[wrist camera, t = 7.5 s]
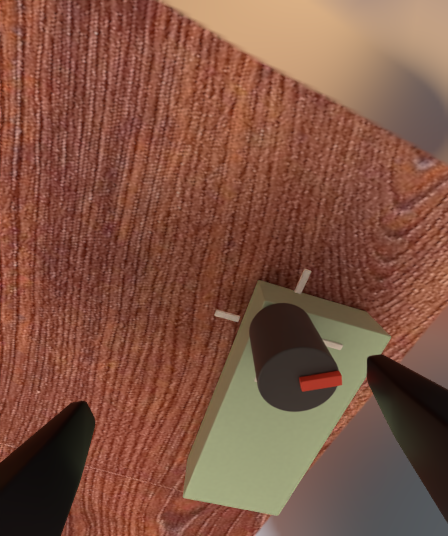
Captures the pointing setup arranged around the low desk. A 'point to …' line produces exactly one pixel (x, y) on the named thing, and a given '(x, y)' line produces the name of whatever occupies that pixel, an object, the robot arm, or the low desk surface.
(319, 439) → the dial panel
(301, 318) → the knob
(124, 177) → the low desk surface
